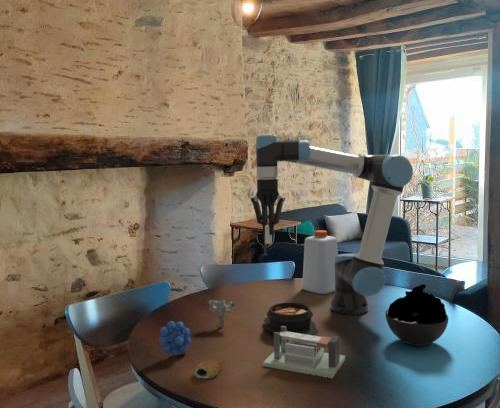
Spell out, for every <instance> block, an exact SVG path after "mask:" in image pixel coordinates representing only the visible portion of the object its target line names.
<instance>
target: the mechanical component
mask: <svg viewBox="0 0 500 408" xmlns="http://www.w3.org/2000/svg"><path fill="white" fill-rule="evenodd" d="M206 304H207V305H206V306H208V307H209V311H210V312H211V313H217V316H218V318H219V328H220V329H223V328H224V327H225V321H224V319H225V318H224V317H225V316H226V314H225V313H228V314H229V313H231V312H232V310H233V309H234V308H235V306H236V305H235V304H236V303H235V302H233V301H230V302H229V304H226V300H224V299H222V300H219V299H210V300H208V301H207V303H206Z"/></svg>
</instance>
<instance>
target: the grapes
mask: <svg viewBox="0 0 500 408" xmlns="http://www.w3.org/2000/svg"><path fill="white" fill-rule="evenodd" d="M159 331H160V334H161V336H159V337H158V343H159V345H161V346H162V351H163V352H164V353H165V354H169V353H170V354H171V356H172V357H177V356H179V355H180V354H185V353H186V352H187V351H188V347H187V346H190V345H191V344H192V339H191V337H190V334H191V329H190V328H189V327H185V324H184V322H182V321H177V322H175V321H172V320H171V321H168V322H167V325H166V326H163V327H161V328H160V330H159Z"/></svg>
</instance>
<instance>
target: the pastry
mask: <svg viewBox="0 0 500 408" xmlns="http://www.w3.org/2000/svg"><path fill="white" fill-rule="evenodd" d="M221 370H222V364H221V362H220V361H218V360H216V359H209V360H205V361H201V362H200V363H198V364H197V365H196V366H195V369H194V371H193V372H192V373H193V375H194V377H195V378H198V379H205V380H210V379H213V378H215V377H216V376H217V375H219V373H220V371H221Z"/></svg>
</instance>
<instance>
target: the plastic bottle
mask: <svg viewBox="0 0 500 408" xmlns="http://www.w3.org/2000/svg"><path fill="white" fill-rule="evenodd" d="M303 249H304V250H303V267H302V268H303V269H302V282H301V283H302V286H301V287H302V289H303V291H305V292H310V293H314V294H317V295H328V294H331V293H334V292H335V264H334V263H335V257H336V256H337V255H339V251H338V250H339V249H338V241H337V238H336V237H335V236H331V235H328V231H327V230H324V229H323V230H322V229H321V230H320V229H319V230H314V231H313V235H311V236H308V237H306V238H304V247H303Z"/></svg>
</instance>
